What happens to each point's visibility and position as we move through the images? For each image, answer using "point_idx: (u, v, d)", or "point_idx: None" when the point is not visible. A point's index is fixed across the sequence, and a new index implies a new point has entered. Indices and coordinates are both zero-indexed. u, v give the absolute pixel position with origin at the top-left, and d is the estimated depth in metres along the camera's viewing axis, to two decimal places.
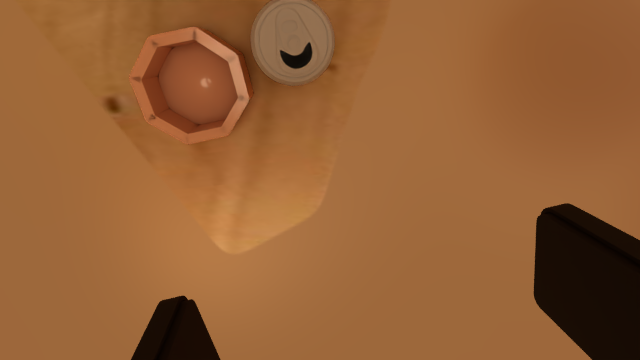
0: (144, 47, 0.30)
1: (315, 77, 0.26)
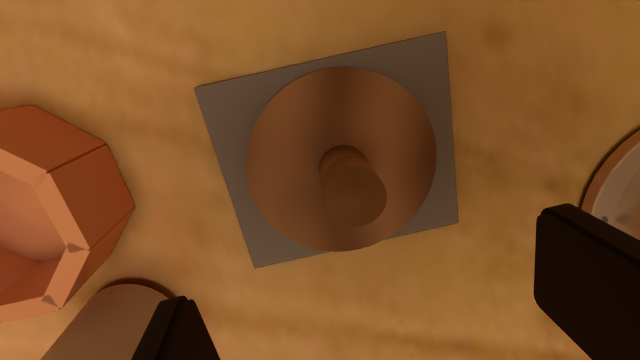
0: (22, 162, 0.15)
1: None
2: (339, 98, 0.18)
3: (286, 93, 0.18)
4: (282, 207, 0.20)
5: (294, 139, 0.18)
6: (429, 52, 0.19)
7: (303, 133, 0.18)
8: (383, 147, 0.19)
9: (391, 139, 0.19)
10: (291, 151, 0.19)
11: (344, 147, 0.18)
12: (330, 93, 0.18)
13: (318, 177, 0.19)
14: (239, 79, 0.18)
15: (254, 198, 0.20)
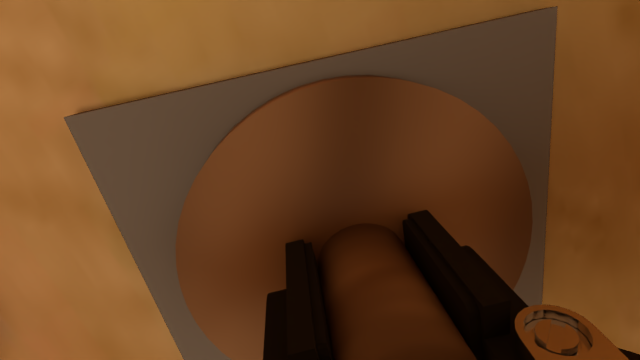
0: None
1: None
2: (357, 138, 0.09)
3: (251, 131, 0.09)
4: (251, 331, 0.11)
5: (270, 216, 0.10)
6: (522, 47, 0.10)
7: (287, 205, 0.09)
8: None
9: (453, 210, 0.10)
10: (265, 237, 0.10)
11: (367, 232, 0.09)
12: (340, 130, 0.09)
13: None
14: (156, 100, 0.09)
15: (198, 319, 0.10)
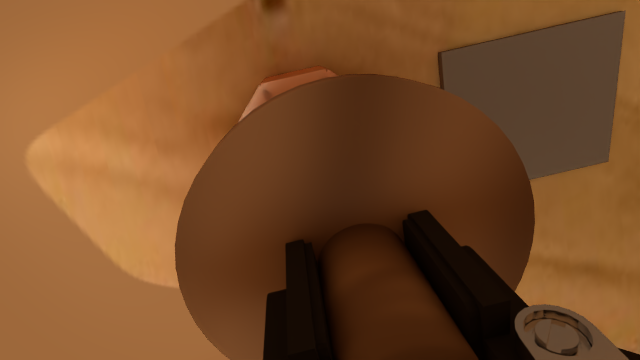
0: None
1: None
2: (358, 137, 0.09)
3: (251, 130, 0.09)
4: (251, 332, 0.11)
5: (270, 217, 0.09)
6: (611, 26, 0.25)
7: (288, 205, 0.09)
8: None
9: (455, 210, 0.10)
10: (265, 237, 0.10)
11: (369, 232, 0.09)
12: (341, 129, 0.09)
13: None
14: (474, 46, 0.25)
15: (198, 320, 0.10)
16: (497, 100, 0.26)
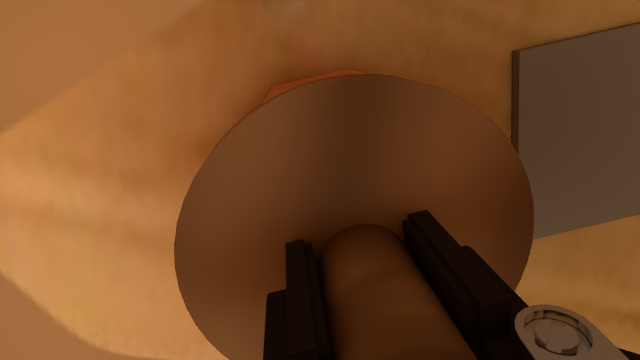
0: None
1: None
2: (357, 137, 0.09)
3: (250, 130, 0.09)
4: (251, 332, 0.11)
5: (269, 217, 0.09)
6: None
7: (287, 205, 0.09)
8: None
9: (454, 210, 0.10)
10: (264, 237, 0.10)
11: (368, 232, 0.09)
12: (340, 129, 0.09)
13: None
14: (565, 42, 0.18)
15: (197, 320, 0.10)
16: (588, 116, 0.19)
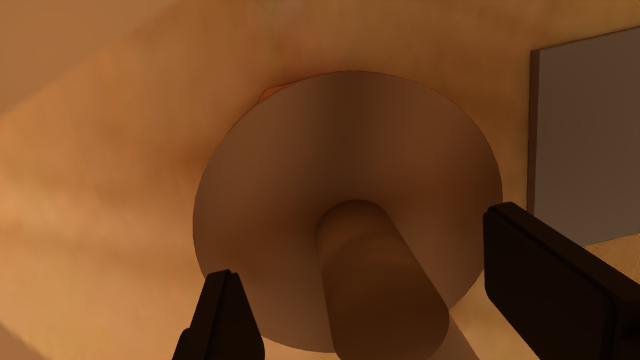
0: None
1: None
2: (349, 124, 0.10)
3: (258, 118, 0.10)
4: (257, 295, 0.12)
5: (274, 193, 0.11)
6: None
7: (289, 182, 0.11)
8: (419, 201, 0.12)
9: (433, 188, 0.12)
10: (270, 211, 0.11)
11: (358, 206, 0.11)
12: (334, 117, 0.10)
13: (314, 249, 0.12)
14: (590, 41, 0.16)
15: None
16: (612, 122, 0.18)
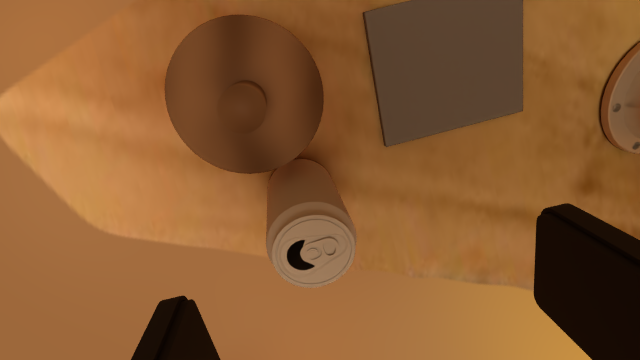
0: None
1: None
2: (236, 40, 0.22)
3: (192, 36, 0.22)
4: (200, 135, 0.24)
5: (203, 76, 0.23)
6: None
7: (210, 70, 0.23)
8: (278, 81, 0.24)
9: (283, 74, 0.24)
10: (202, 86, 0.23)
11: (243, 80, 0.23)
12: (228, 36, 0.22)
13: None
14: (393, 6, 0.28)
15: (176, 127, 0.24)
16: (418, 55, 0.30)
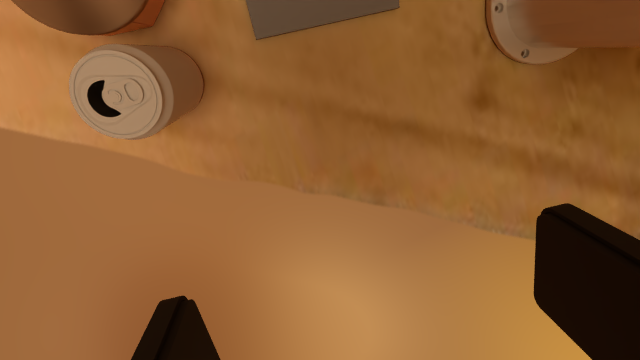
0: None
1: None
2: None
3: None
4: None
5: None
6: None
7: None
8: None
9: None
10: None
11: None
12: None
13: None
14: None
15: None
16: None
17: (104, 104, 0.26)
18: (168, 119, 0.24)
